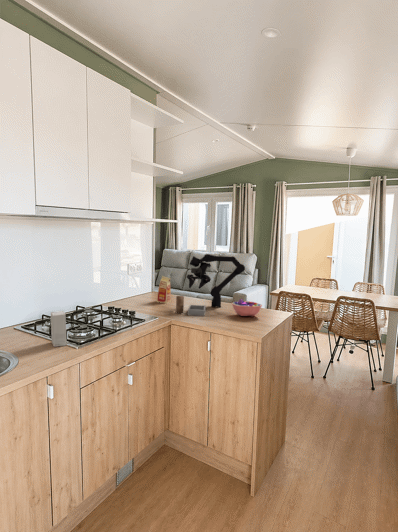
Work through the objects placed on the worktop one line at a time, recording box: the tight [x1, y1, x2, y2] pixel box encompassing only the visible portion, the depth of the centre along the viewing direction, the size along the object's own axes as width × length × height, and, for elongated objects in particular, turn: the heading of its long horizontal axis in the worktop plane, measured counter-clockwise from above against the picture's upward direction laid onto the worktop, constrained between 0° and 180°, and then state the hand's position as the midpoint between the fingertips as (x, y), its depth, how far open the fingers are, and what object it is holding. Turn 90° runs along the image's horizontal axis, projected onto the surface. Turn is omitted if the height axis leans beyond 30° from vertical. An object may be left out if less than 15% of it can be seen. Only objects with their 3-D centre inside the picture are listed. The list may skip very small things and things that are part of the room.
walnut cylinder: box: [175, 295, 185, 314], centre depth 228 cm, size 5×5×11 cm
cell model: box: [231, 298, 263, 317], centre depth 225 cm, size 17×20×11 cm
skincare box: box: [50, 310, 68, 348], centre depth 159 cm, size 8×6×15 cm
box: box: [187, 304, 207, 317], centre depth 229 cm, size 11×15×4 cm
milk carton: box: [156, 275, 172, 304], centre depth 260 cm, size 9×9×20 cm
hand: (194, 288), depth 240 cm, fingers open, 9 cm apart
